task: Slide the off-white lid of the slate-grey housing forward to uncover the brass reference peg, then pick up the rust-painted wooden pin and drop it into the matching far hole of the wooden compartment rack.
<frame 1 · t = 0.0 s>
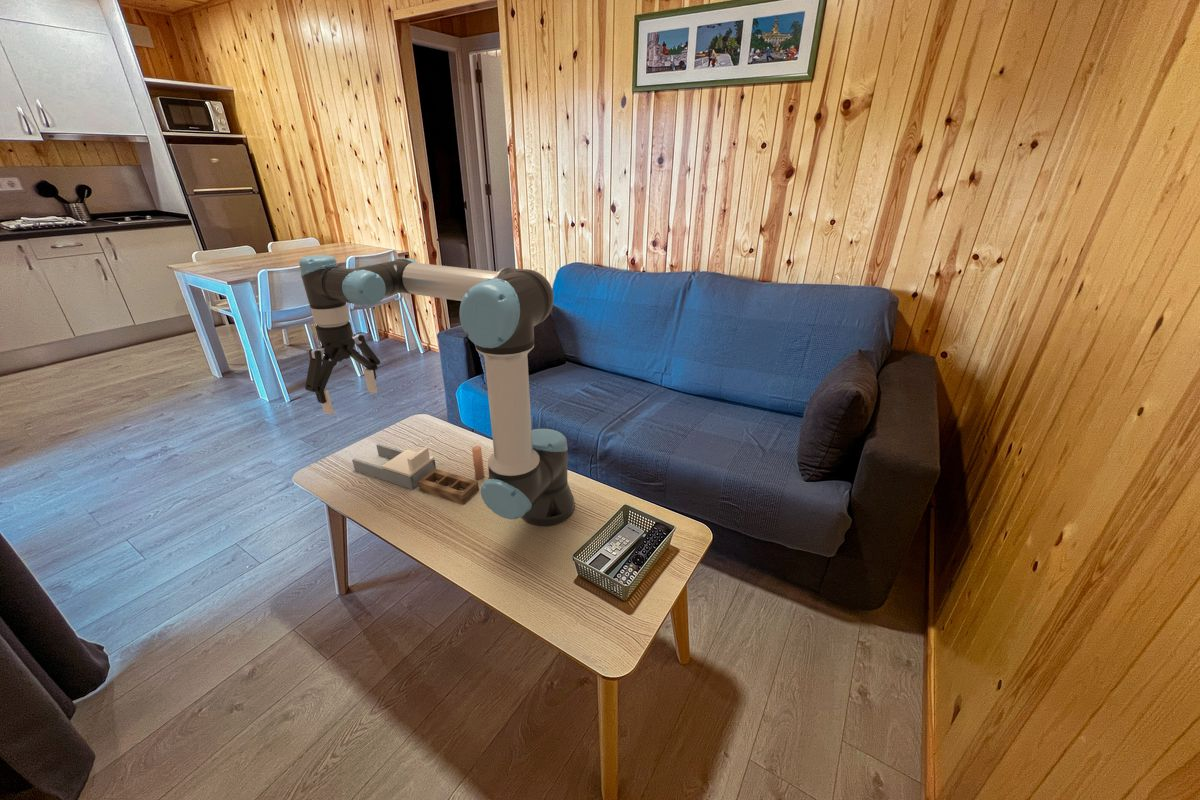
hand: (352, 402, 120), 28 cm above the table, fingers open, 13 cm apart
housing: (411, 475, 138), on the table
wooden compartment rack: (449, 490, 132), on the table
lid: (407, 456, 135), point 7 cm above the table, slide at 0.0 cm
pin: (479, 476, 139), on the table
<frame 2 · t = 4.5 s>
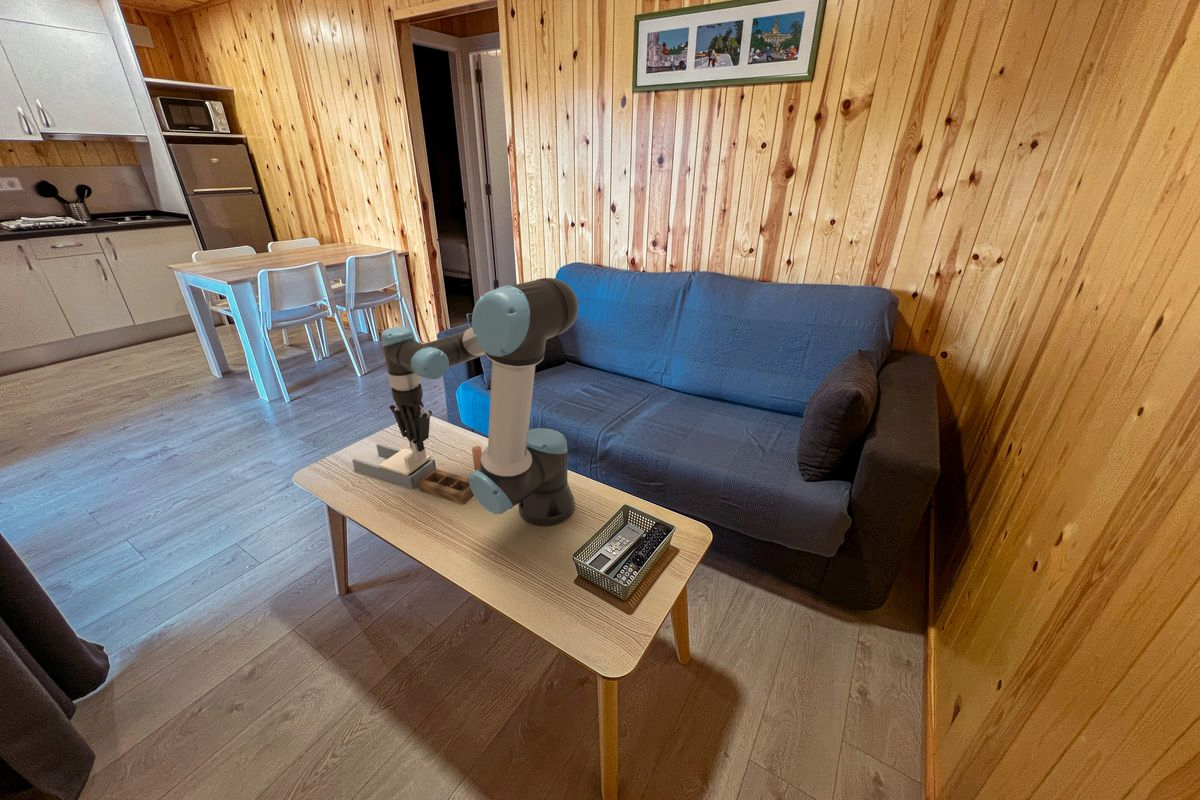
hand: (419, 458, 134), 7 cm above the table, fingers closed
lid: (404, 455, 136), point 7 cm above the table, slide at 1.2 cm, touching gripper
everything else where it was.
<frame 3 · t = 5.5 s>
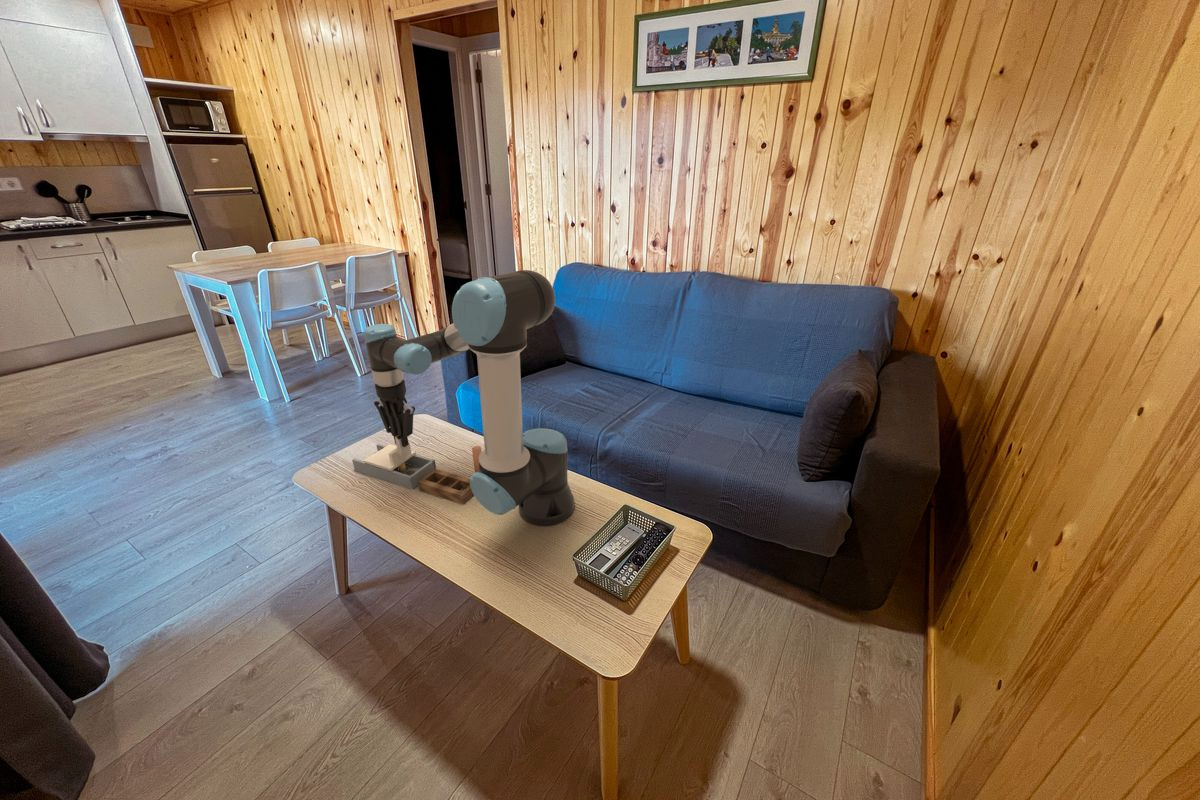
hand: (404, 454, 136), 7 cm above the table, fingers closed
lid: (389, 451, 138), point 7 cm above the table, slide at 7.0 cm, touching gripper
everything else where it was.
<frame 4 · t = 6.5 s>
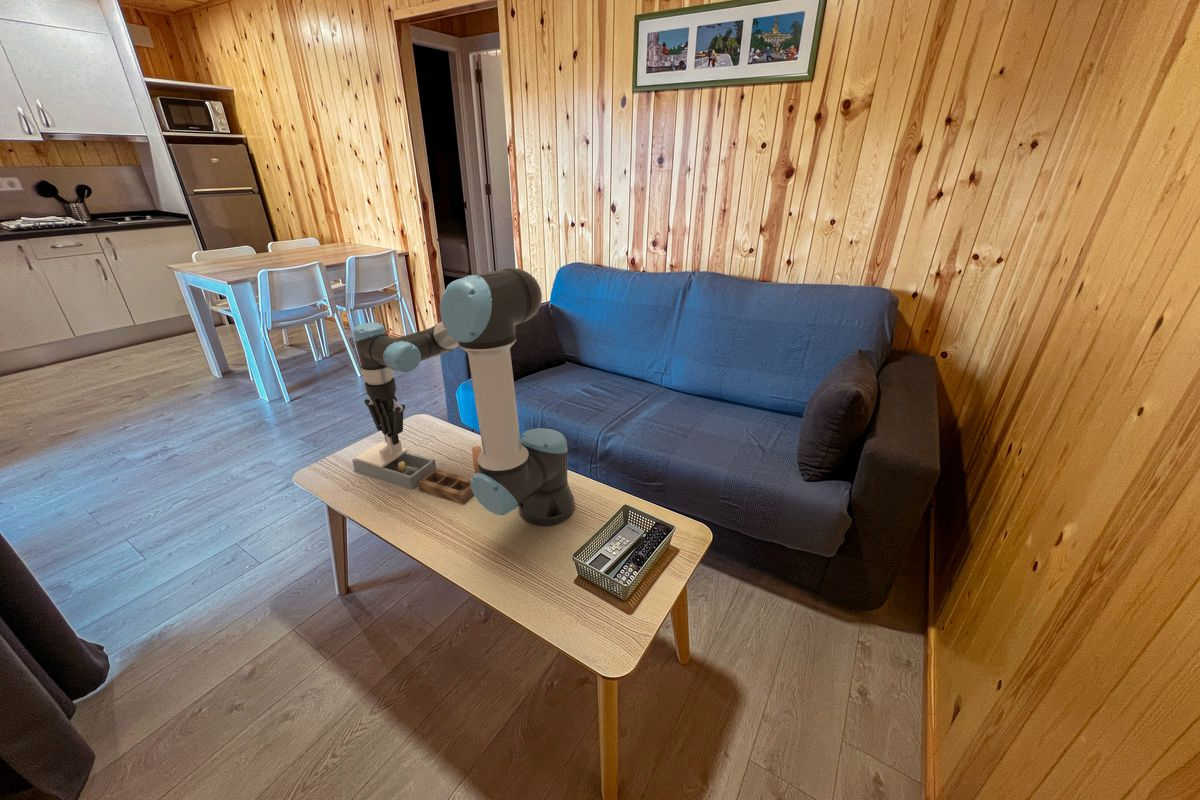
hand: (394, 452, 137), 7 cm above the table, fingers closed
lid: (380, 448, 139), point 7 cm above the table, slide at 10.5 cm, touching gripper
everything else where it was.
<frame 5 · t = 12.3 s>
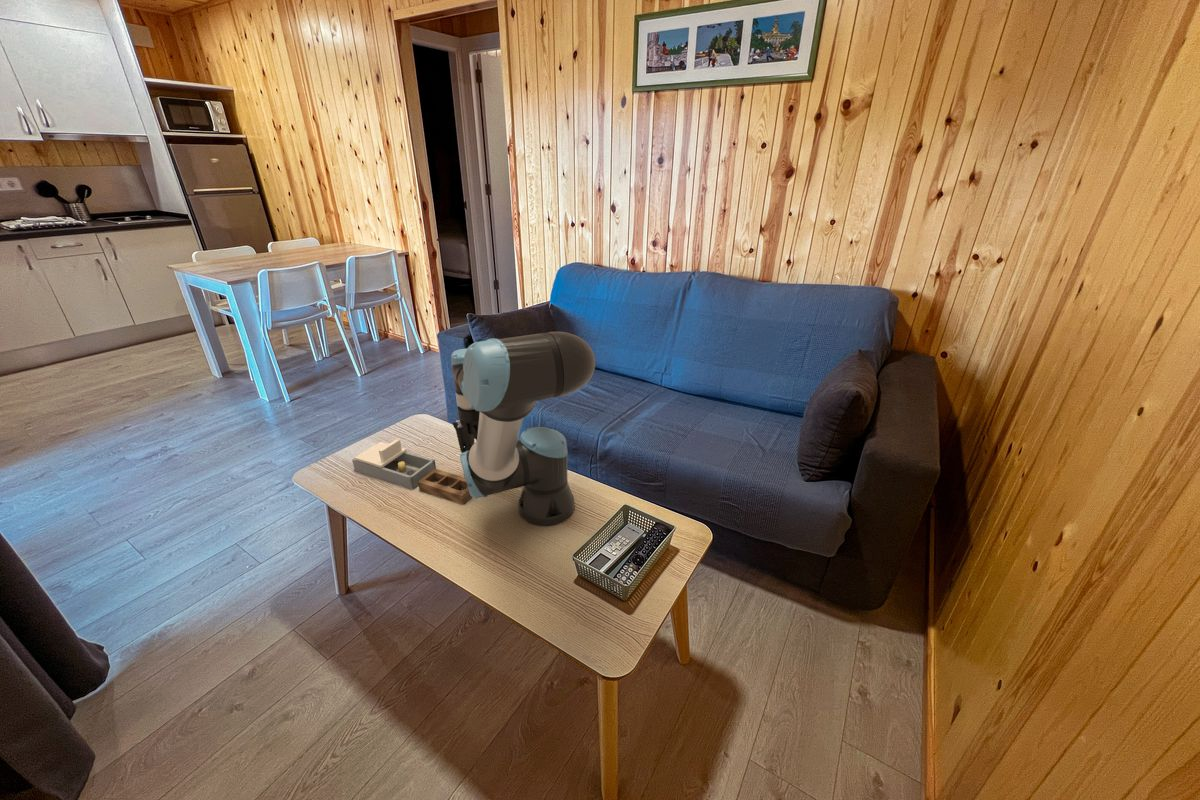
hand: (479, 474, 138), 1 cm above the table, fingers closed on pin, 2 cm apart
lid: (379, 448, 139), point 7 cm above the table, slide at 10.7 cm
pin: (479, 475, 138), point 1 cm above the table, touching gripper
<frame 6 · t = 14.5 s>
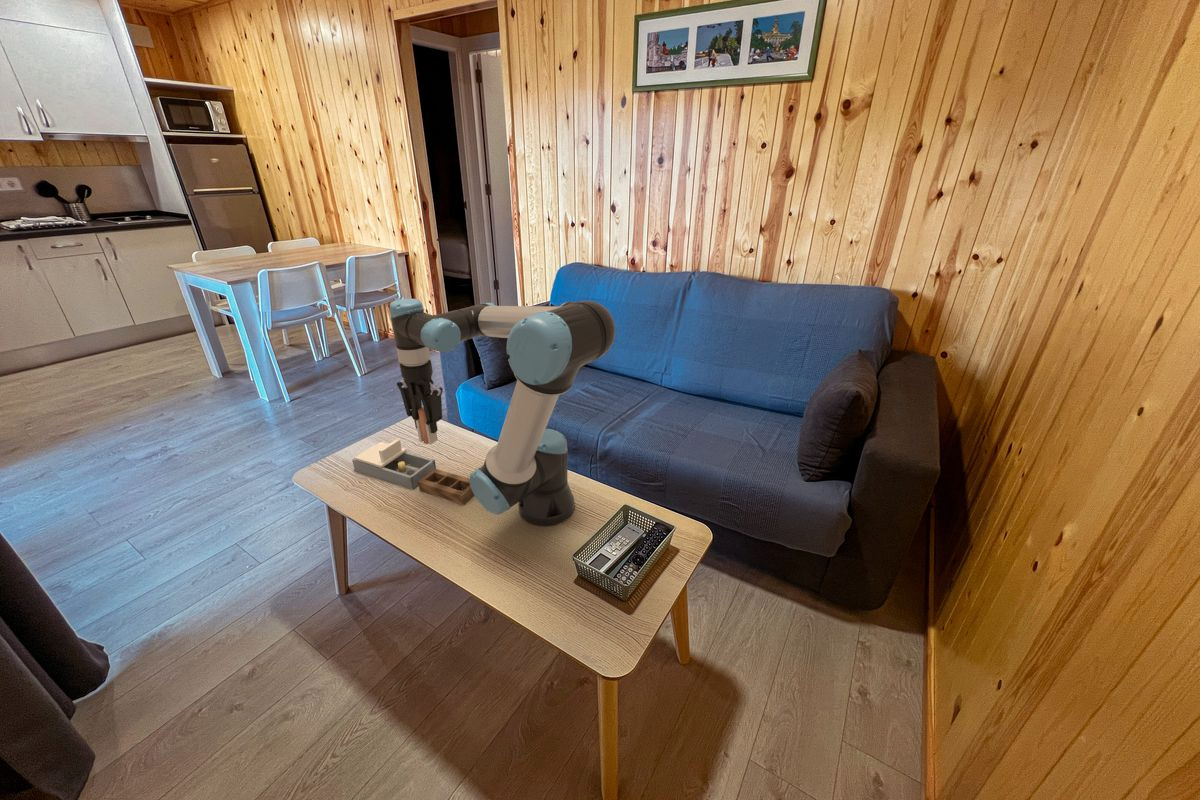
hand: (428, 440, 127), 15 cm above the table, fingers closed on pin, 2 cm apart
pin: (428, 441, 127), point 15 cm above the table, touching gripper
everything else where it was.
when the fingers open (4 cm above the table, at t = 16.6 s): pin drops 3 cm, resting in wooden compartment rack.
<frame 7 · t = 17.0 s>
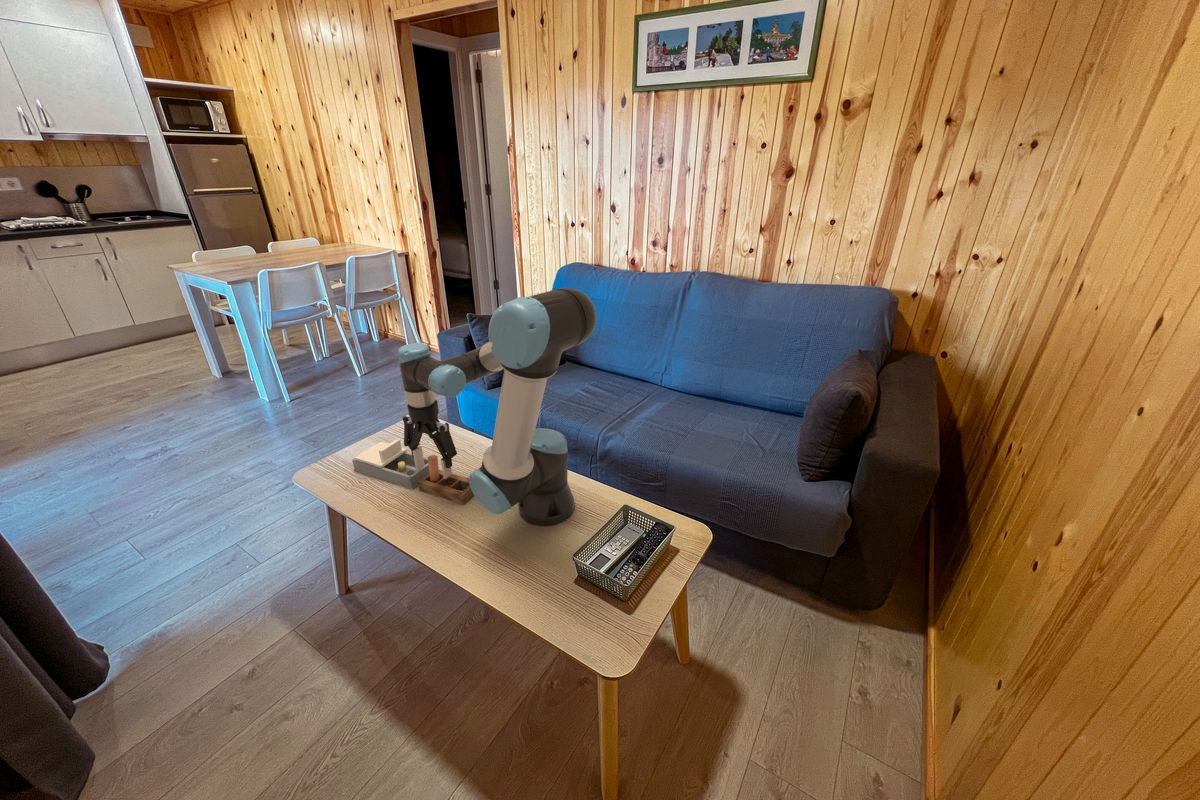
hand: (434, 471, 132), 5 cm above the table, fingers open, 9 cm apart
pin: (435, 485, 134), resting in wooden compartment rack
everything else where it was.
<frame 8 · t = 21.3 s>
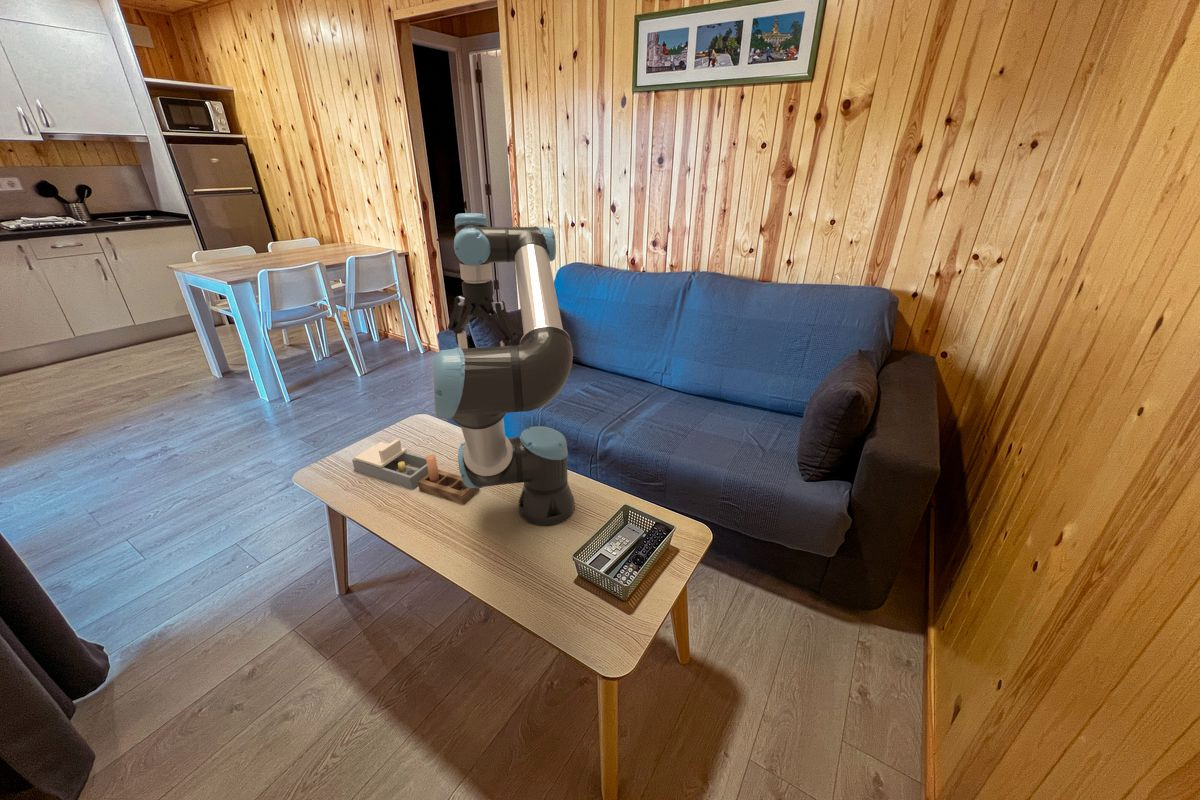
hand: (484, 359, 125), 37 cm above the table, fingers open, 13 cm apart
nothing on the table moved.
at the end: lid slide at 10.7 cm; pin 0.2 cm from the target spot on the wooden compartment rack, point 0.0 cm above the wooden compartment rack's base; pin tilted 1° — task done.
